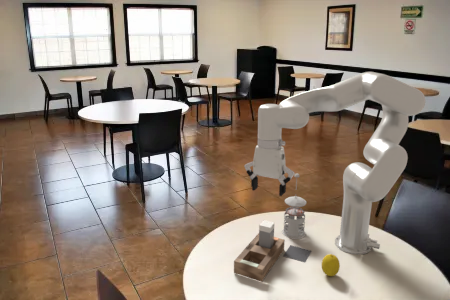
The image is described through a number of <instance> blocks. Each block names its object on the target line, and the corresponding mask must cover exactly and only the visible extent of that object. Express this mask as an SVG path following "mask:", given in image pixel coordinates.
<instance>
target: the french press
mask: <svg viewBox="0 0 450 300" xmlns="http://www.w3.org/2000/svg"><path fill="white" fill-rule="evenodd" d="M293 176H294V178H295V181H296V182H295V189H297V185H298V178H300V174H299V173H295V174H294V175H293ZM284 203H285V204H286V205H287V206H289V207H287V208H285V212H284V214H283V217H284V218H283V229H282V231H281V233H282V235H283V236H284V237H286V238H288V239H293V240H294V239H295V240H298V239H299V240H300V239H302V238H304V237H305V236H306V231H305V224H306V222H305V220H306V214H305V210H304V209H302V208H301V207H304V206H306V205H307V201H306V200H305V199H304V198H302V197H300V196H297V195H294V196H289V197H287V198H285V199H284ZM295 218H296V219H295Z"/></svg>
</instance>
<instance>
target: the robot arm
mask: <svg viewBox="0 0 450 300" xmlns="http://www.w3.org/2000/svg"><path fill="white" fill-rule="evenodd" d="M368 100H369V101H372V102H375V103H378V105H379V104H380V105H381V107H382V108H381V109H382V118H381V121H380V123H379V124H378V125H377V127H376V129H375V131H374V132H373V133H372V135H371V136H370V138H369V140H367V141H368V142H367V143H366V144H365V146H364V148H363V153H362V155H363V156H364V158H365V160H367V162H369V163H370V164H372V165H373V167H370V166H369V165H368V164H366V163H364V162H358V161H356V162H352V163H350V164H349V165H347V167H345V169H344V171H343V176H342V184H343V201H342V211H341V219H340V220H341V222H340V228H339V229H340V230H339V235H337V236H336V237H335V238H334V245H335V246H336V247H337V249H339V250H340V251H342V252H344V253H347V254H351V255H365V254H368V253H369V252H371V250H372V248H373V249H376V250H380V247H381V244H380V243H378V240H375V239H371V237H370V233H369V229H370V220H371V213H372V205H373V203H374V202H375V203H376V202H379V201H381V200H382V199H384V198H385V197H386V196H387V195H388V193H389V192H390V191H391V189H392V188H393V186H394V185H395V184H396V182H397V180H398V179H400V178H399V177H400V176H401V175H402V173H403V172H404V170H405V169H406V168H407V167H406V166H407V163H408V159H409V157H408V153H407V151H406V149H405V148H404V147H403V146H401V145H400V143H401V141H402V139H403V138H404V136H405V135H406V132H407V130H408V127H409V117H410V116H411V117H413V116H416V115H419V113H421V112H422V111H423V110H424V108H425V106H426V96H425V95H424V93H423V92H422V91H421V90H420V89H418V88H417V87H414V86H411V85H410V84H407V83H404V82H402V81H400V80H399V79H396V78H394V77H392V76H390V75H387V74H385V73H380V72H374V71H365V72H362V73H358V74H356V75H354V76H351V77H349V78H346V79H345V80H342V81H339V82H336V83H335V84H331V85H329V86H324V87H320V88H316V89H312V90H308V91H307V90H306V91H303V92H301V93H297V94H295V95H292V96H290V97H288V98H286V99H284V100H282V101H281V102H280V103H279V104H276V103H265V104H261V105H260V106H259V107H258V111H257V145H256V146H255V148H254V154H253V161H250V162H247V163H246V164H244V165H243V166H244V170H245V171H246V174H247V175H248V176H249V179H250V180H251V181H250V186H251V189H252V191H253V192H254V191H256V190H257V189H258V188H259V178H258V177H265V178H270V179H275V180H276V179H277V180H278V181H279V183H280V184H279V186H278V188H279V189H278V190H279V191H278V195H279V197H282V196H283V195H284V194H286V192H287V191H286V190H287V183H288V182H290V181H291V180H292V178H293V176H294V175H295V174H296V173H295V172H294V171H293V170H292V169H290V168H289V167H288V166H286V154H285V148H284V146H286V141H285V140H283V138H282V130H283V129H290V130H291V129H293V130H298V129H301V128H304V127H306V125H307V124H308V123H309V121H310V114H312V113H314V112H315V113H316V112H339V111H342V110H345V109H348V108H349V107H352V106H355V105H357V104H360V103H363V102H365V101H368ZM251 167H252V169H251ZM285 174H287V177H286V176H285Z"/></svg>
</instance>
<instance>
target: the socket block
mask: <svg viewBox="0 0 450 300" xmlns="http://www.w3.org/2000/svg"><path fill="white" fill-rule="evenodd" d="M285 242H286V241H285V239H283V238H279V237H276V236H274V246H273V247H272V249H268V248H265V247H261V246H259V232H258V233H257V234H256V235H255V237H254V238H253V239H252V240H251V241H250V242H249V243H248V245H247V246H246V247H245V248H244V249H243V250H242V251H241V252H240V254H238V256H237V257H236V258H235V260H234V261H233V274H237V275H240V276H242V277H246V278H248V279H252V280H255V281H257V282H261V283H263V281H264V279H265V278H266V276H267V275H268V273H269V272H270V270H271V269H272V268H273V266H274V265H275V264H276V263H277V261H278V259H280V256H281V255H282V254H283V252H284V251H285Z"/></svg>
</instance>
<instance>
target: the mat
mask: <svg viewBox="0 0 450 300" xmlns="http://www.w3.org/2000/svg"><path fill="white" fill-rule="evenodd" d="M312 252H313V251H312V250H310V249H308V248H303V247H298V246H296V245H292V244H291V245H289V247H288V248H287V249H286V251H285V253H284V254H283V255H282V257H285V258H287V259H291V260H294V261H298V262H302V263H306V262H307V260H308V259H309V256H310V255H311V254H312Z"/></svg>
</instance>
